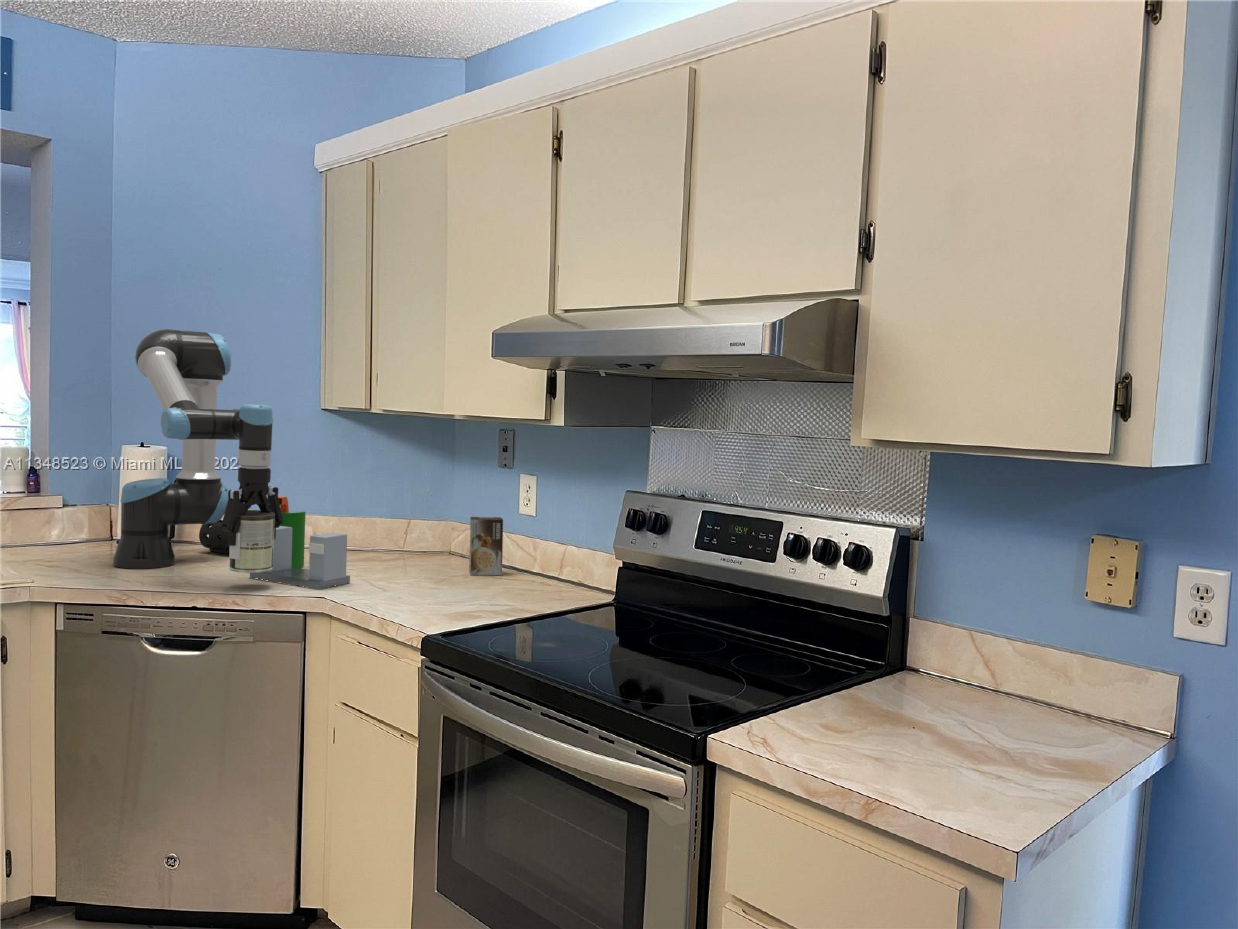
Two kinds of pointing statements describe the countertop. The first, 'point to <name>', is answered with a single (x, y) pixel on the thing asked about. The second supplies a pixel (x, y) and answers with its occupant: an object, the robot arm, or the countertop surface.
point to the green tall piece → (294, 531)
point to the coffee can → (255, 543)
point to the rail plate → (298, 578)
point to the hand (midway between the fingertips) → (251, 555)
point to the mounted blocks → (313, 554)
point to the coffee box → (486, 546)
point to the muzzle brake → (214, 537)
